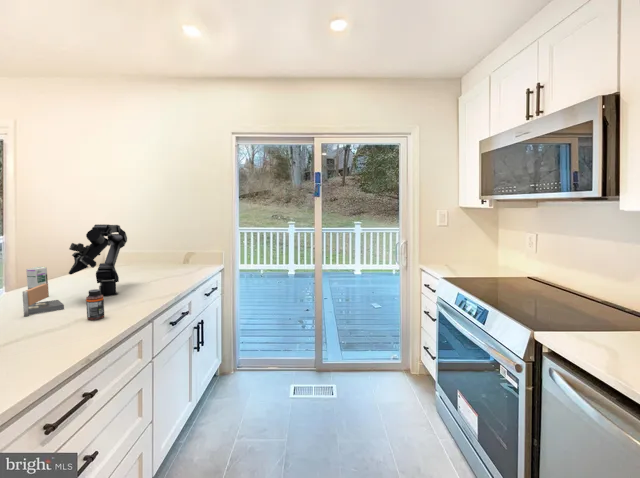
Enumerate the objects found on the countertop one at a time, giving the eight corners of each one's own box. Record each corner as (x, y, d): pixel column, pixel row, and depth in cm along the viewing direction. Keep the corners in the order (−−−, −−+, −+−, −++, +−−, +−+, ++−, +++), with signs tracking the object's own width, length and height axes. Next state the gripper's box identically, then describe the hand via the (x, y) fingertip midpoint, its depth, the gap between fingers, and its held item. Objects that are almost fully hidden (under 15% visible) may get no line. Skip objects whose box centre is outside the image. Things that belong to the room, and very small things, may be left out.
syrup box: (38, 299, 176) (36, 268, 175) (27, 298, 178) (25, 268, 176) (49, 296, 182) (47, 266, 181) (39, 295, 183) (37, 266, 182)
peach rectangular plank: (48, 296, 165) (48, 283, 164) (29, 305, 151) (28, 290, 150) (45, 296, 165) (44, 283, 164) (25, 305, 150) (24, 290, 150)
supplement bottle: (91, 316, 151) (90, 288, 150) (107, 315, 151) (106, 288, 150) (83, 320, 145) (82, 292, 144) (99, 320, 145) (98, 291, 144)
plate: (58, 304, 168) (57, 282, 167) (65, 310, 158) (64, 287, 158) (19, 309, 158) (17, 286, 157) (24, 316, 149) (22, 292, 148)
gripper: (76, 235, 177) (49, 260, 171) (87, 237, 164) (58, 265, 158) (95, 250, 184) (70, 275, 177) (107, 254, 171) (80, 281, 164)
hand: (69, 273), depth 169 cm, fingers closed
